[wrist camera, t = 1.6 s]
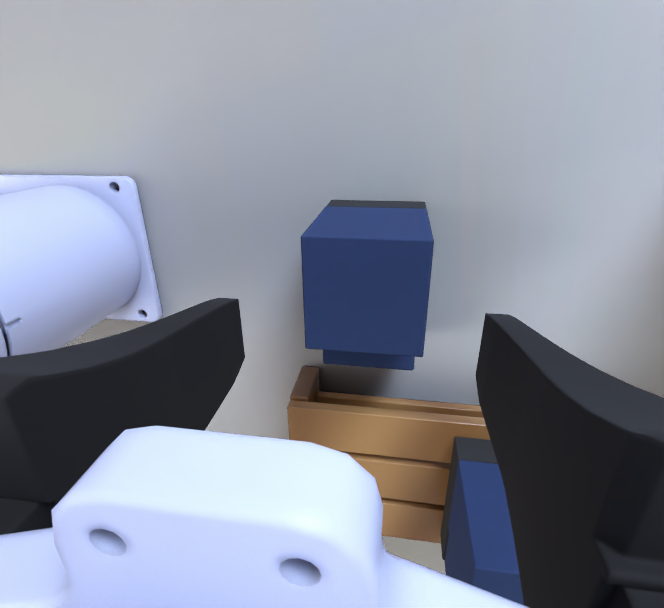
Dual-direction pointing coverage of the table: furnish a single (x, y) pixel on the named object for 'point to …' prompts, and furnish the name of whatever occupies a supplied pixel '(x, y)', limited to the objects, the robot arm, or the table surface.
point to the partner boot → (479, 522)
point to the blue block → (367, 282)
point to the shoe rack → (389, 447)
